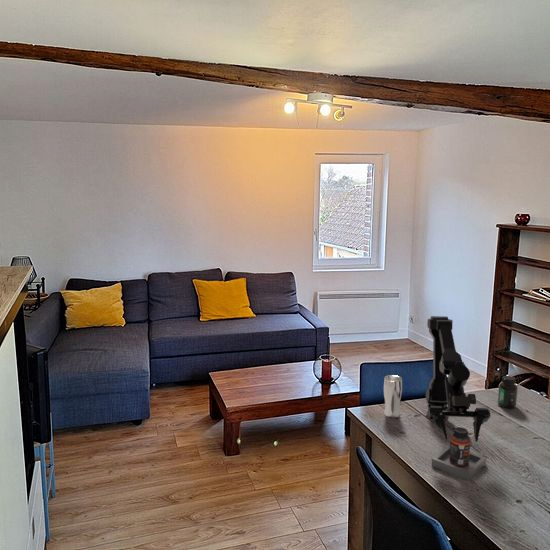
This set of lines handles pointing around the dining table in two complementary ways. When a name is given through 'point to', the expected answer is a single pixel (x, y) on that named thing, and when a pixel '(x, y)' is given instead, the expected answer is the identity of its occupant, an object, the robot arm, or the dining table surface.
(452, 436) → the supplement bottle
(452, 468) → the tray
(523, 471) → the dining table surface
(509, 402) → the supplement bottle
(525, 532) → the dining table surface
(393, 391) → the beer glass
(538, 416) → the dining table surface
